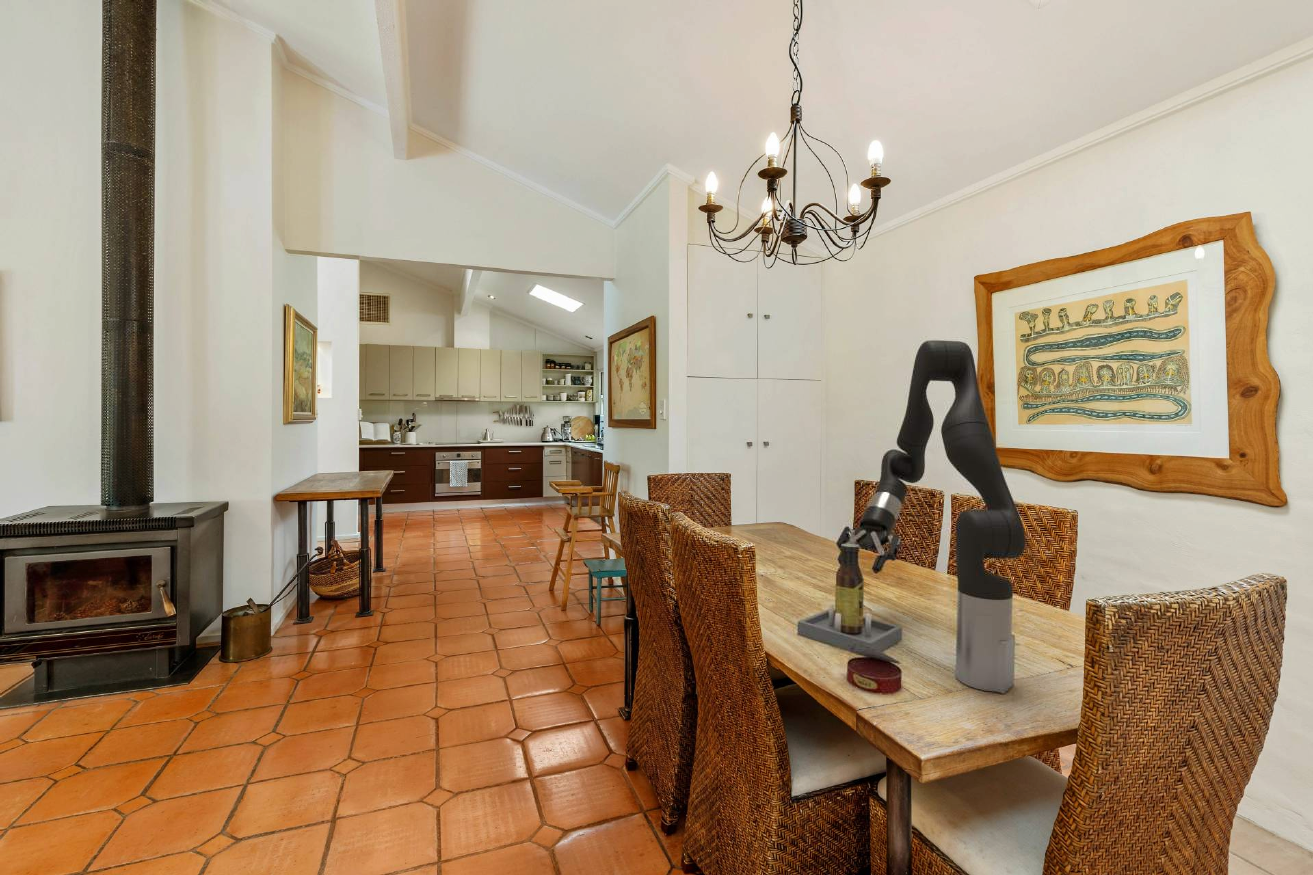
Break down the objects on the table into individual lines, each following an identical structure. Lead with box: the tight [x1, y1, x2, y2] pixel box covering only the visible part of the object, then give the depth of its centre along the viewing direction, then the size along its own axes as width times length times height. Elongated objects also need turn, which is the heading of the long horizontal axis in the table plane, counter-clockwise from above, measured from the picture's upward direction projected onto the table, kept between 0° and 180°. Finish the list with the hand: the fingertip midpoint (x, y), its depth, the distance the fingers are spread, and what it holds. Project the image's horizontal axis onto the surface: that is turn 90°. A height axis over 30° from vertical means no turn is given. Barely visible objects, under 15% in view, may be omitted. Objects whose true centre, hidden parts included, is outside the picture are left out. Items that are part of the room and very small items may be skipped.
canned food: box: [846, 642, 903, 695], centre depth 111 cm, size 11×10×10 cm
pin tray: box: [797, 603, 903, 652], centre depth 134 cm, size 18×15×6 cm
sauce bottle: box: [834, 543, 865, 634], centre depth 135 cm, size 7×6×20 cm
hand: (857, 567), depth 136 cm, fingers open, 8 cm apart
